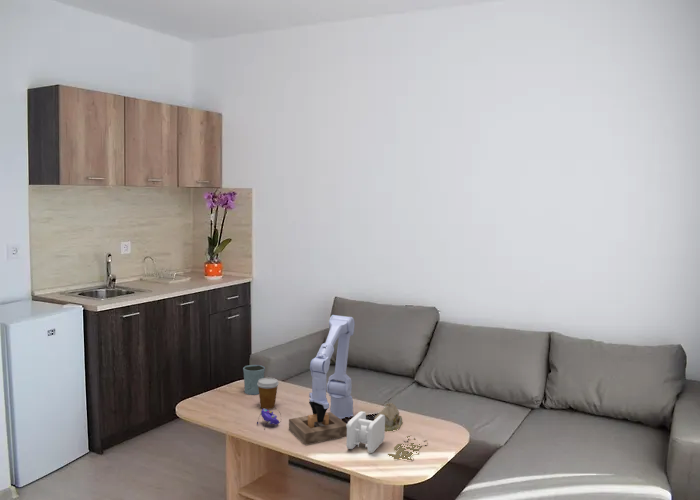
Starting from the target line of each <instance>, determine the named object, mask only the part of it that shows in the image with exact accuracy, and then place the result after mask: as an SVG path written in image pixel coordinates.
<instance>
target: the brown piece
mask: <svg viewBox="0 0 700 500" xmlns="http://www.w3.org/2000/svg"><path fill="white" fill-rule="evenodd" d="M326 413H327V414H329V425H323V424H322V422H314V428H309V427H308V415H305V416H300V417H299V416H298V417H295V418H289V419H288V431H289V432H291V433H292V434H293V436H295V437H296V438H297V439H298V440H299V441H300V442H301V443H302V444H304V445H305V446H306V445H312V444H316V443H321V442H327V441H331V440H332V441H333V440H336V439H340V438H341V439H342V438H347V427H346V424H347V423H346V422H345V421H343V420H342V419H339V418H338V417H337V416H335V415H334V414H333V413H331V412H330V411H328V412H327V411H326Z"/></svg>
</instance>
